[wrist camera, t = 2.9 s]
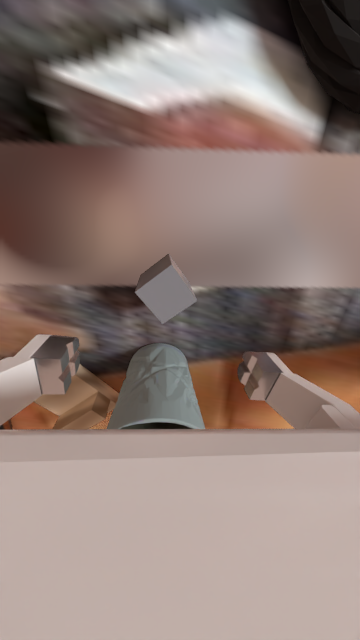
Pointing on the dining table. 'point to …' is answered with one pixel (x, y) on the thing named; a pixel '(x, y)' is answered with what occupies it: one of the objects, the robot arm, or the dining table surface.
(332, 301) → the dining table surface
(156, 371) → the grey hollow cylinder
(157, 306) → the grey rectangular block
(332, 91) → the cable lock
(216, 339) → the dining table surface
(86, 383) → the notch board
